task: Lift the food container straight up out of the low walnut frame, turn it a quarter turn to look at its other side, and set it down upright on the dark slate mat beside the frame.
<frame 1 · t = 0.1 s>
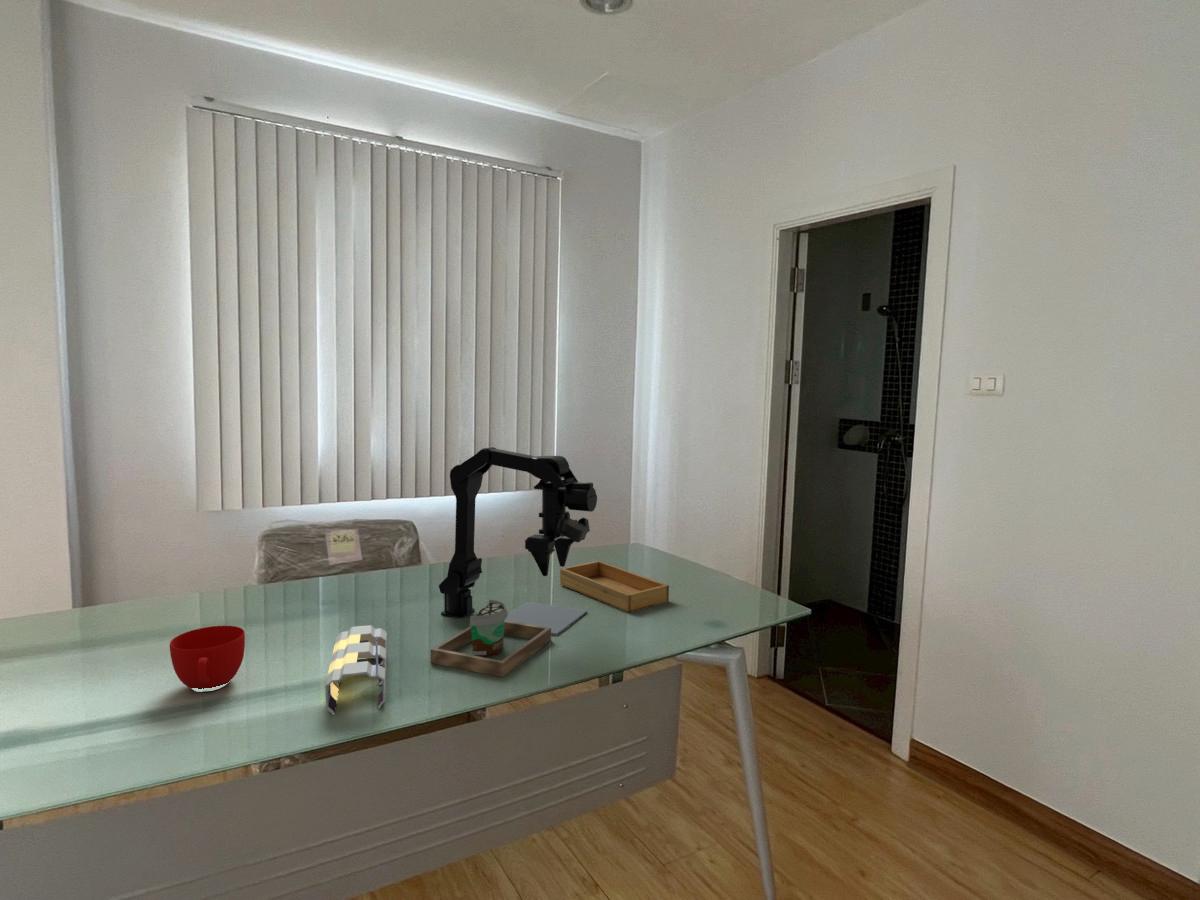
hand: (553, 571, 167), 15 cm above the table, tool pointing down, fingers open, 9 cm apart
tray: (612, 595, 197), on the table
slate mat: (541, 618, 175), on the table
jagged striped arch: (359, 685, 138), on the table
walnut frame: (493, 651, 154), on the table
food container: (493, 652, 154), resting in walnut frame
ceramic cup: (209, 690, 134), on the table
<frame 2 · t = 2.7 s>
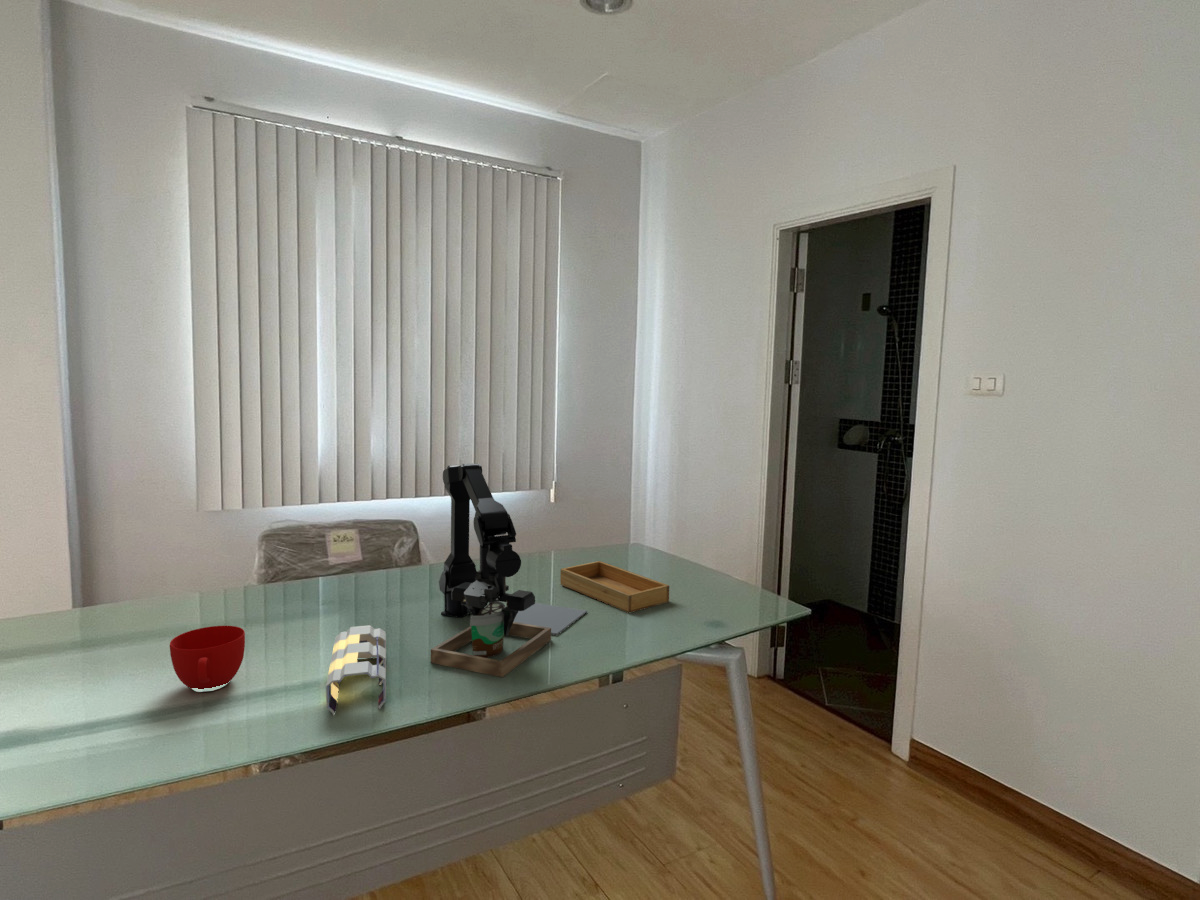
hand: (493, 632, 154), 4 cm above the table, tool pointing down, fingers closed on food container, 6 cm apart
food container: (493, 652, 154), resting in walnut frame, touching gripper
everything else where it was.
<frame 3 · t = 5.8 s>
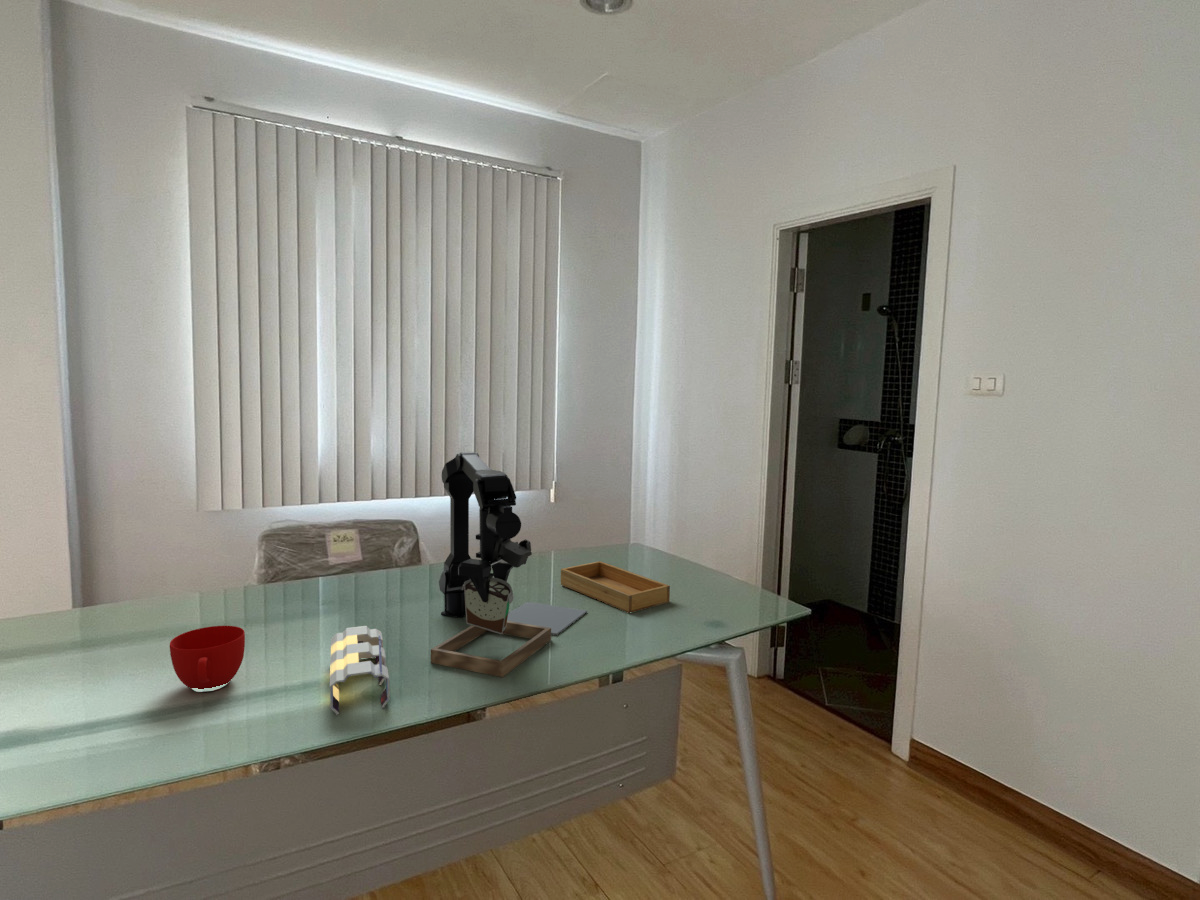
hand: (493, 597, 153), 12 cm above the table, tool pointing down, fingers closed on food container, 6 cm apart
food container: (491, 623, 155), point 6 cm above the table, touching gripper
everything else where it was.
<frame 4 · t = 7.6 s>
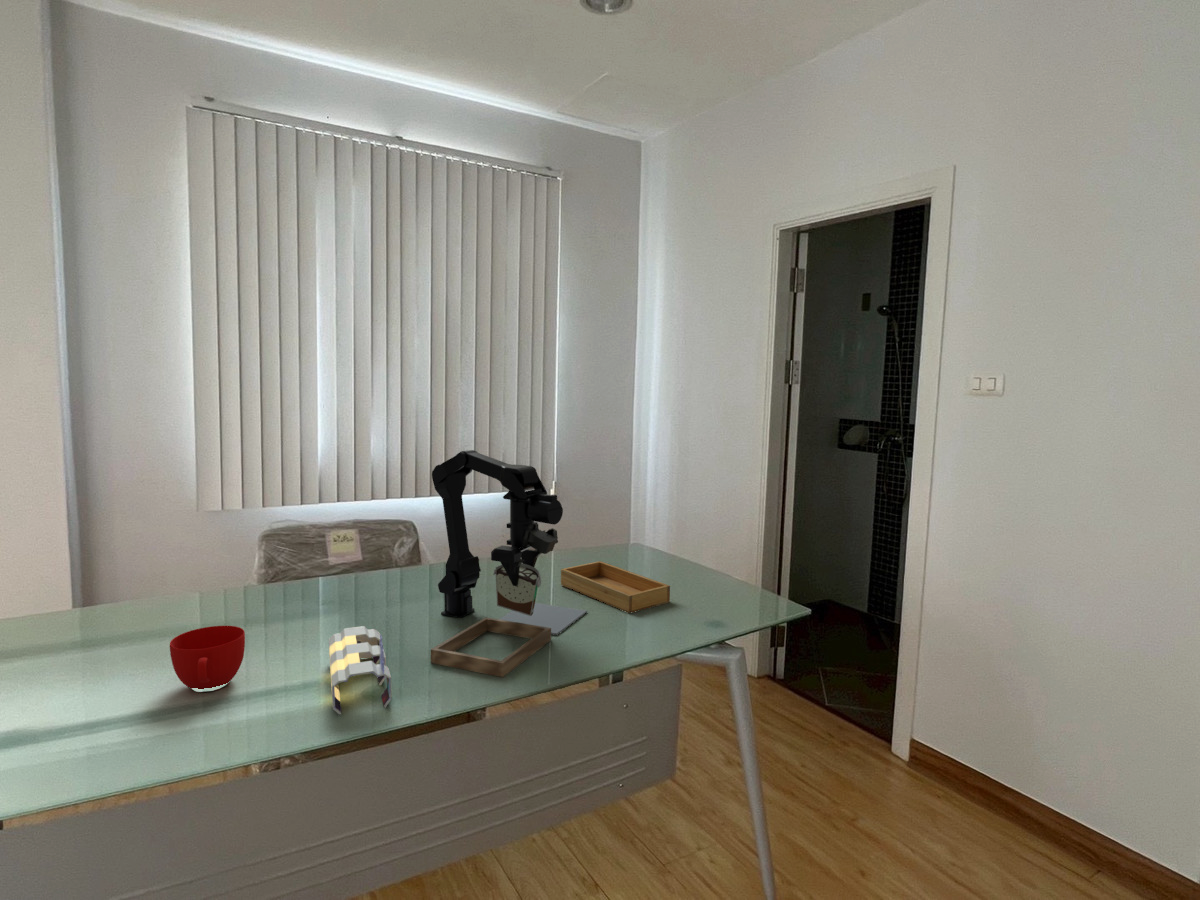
hand: (522, 582, 165), 12 cm above the table, tool pointing down, fingers closed on food container, 6 cm apart
food container: (520, 606, 167), point 6 cm above the table, touching gripper
everything else where it was.
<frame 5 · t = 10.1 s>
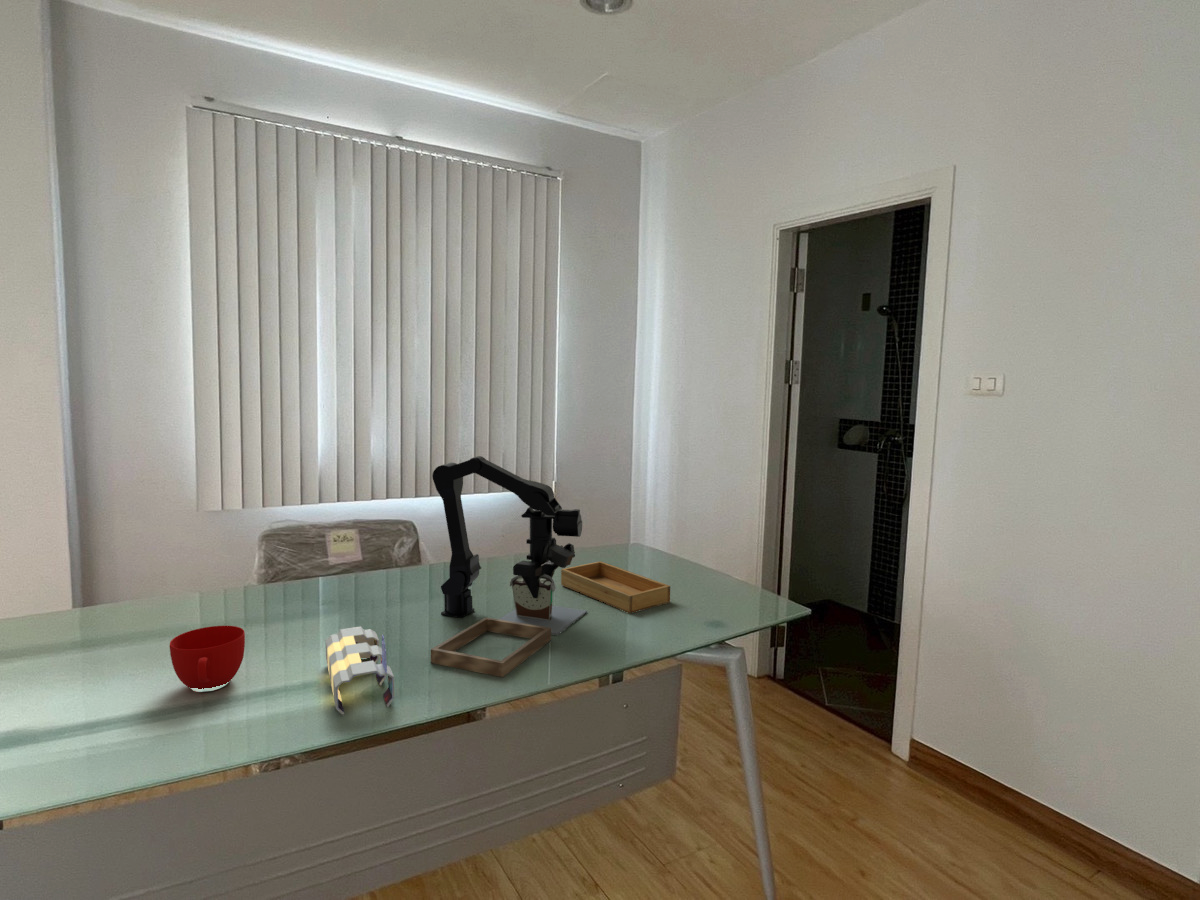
hand: (541, 594, 175), 6 cm above the table, tool pointing down, fingers closed on food container, 6 cm apart
food container: (538, 613, 177), point 1 cm above the table, touching gripper, slate mat
when the fingers open (6 cm above the table, at t = 10.9 s): food container stays where it is, resting on slate mat.
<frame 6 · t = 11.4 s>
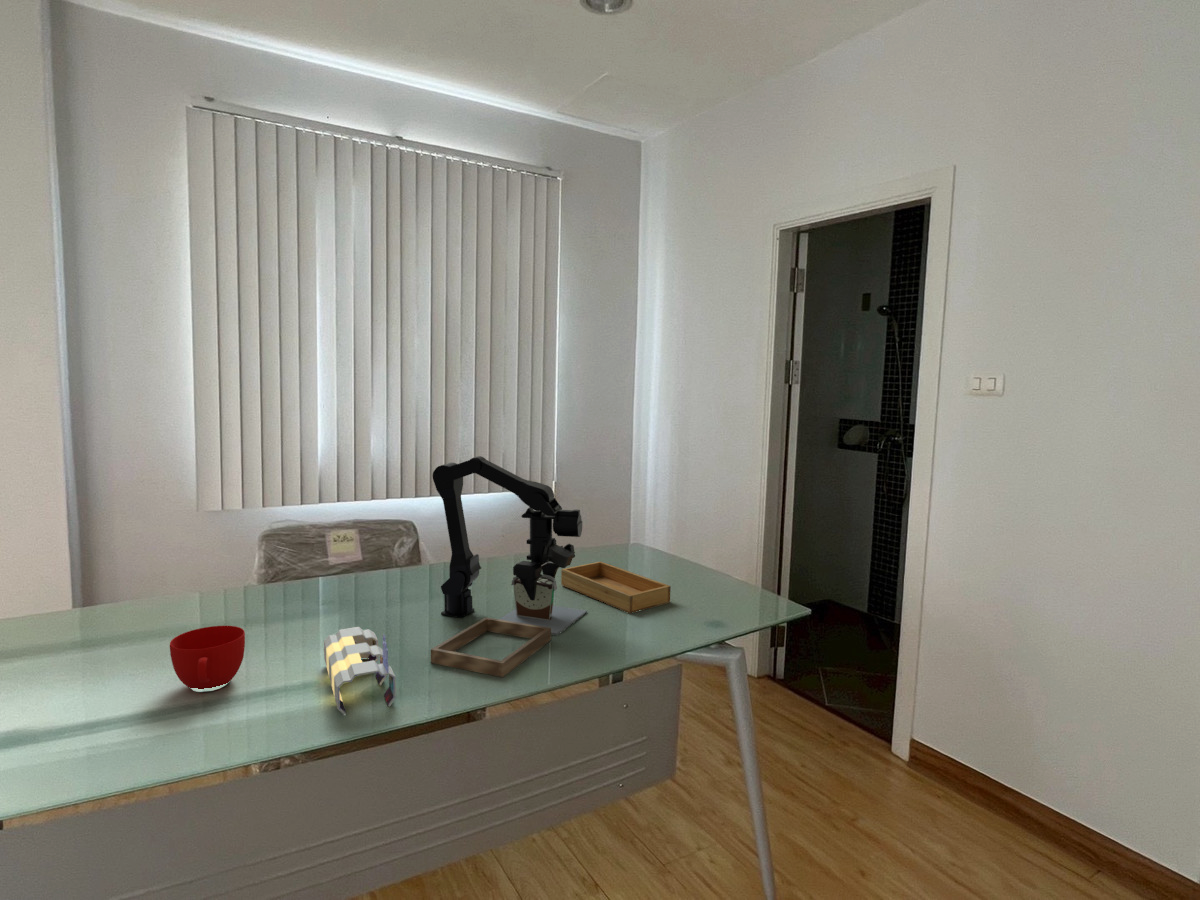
hand: (541, 594, 175), 6 cm above the table, tool pointing down, fingers open, 9 cm apart
food container: (538, 615, 177), resting on slate mat
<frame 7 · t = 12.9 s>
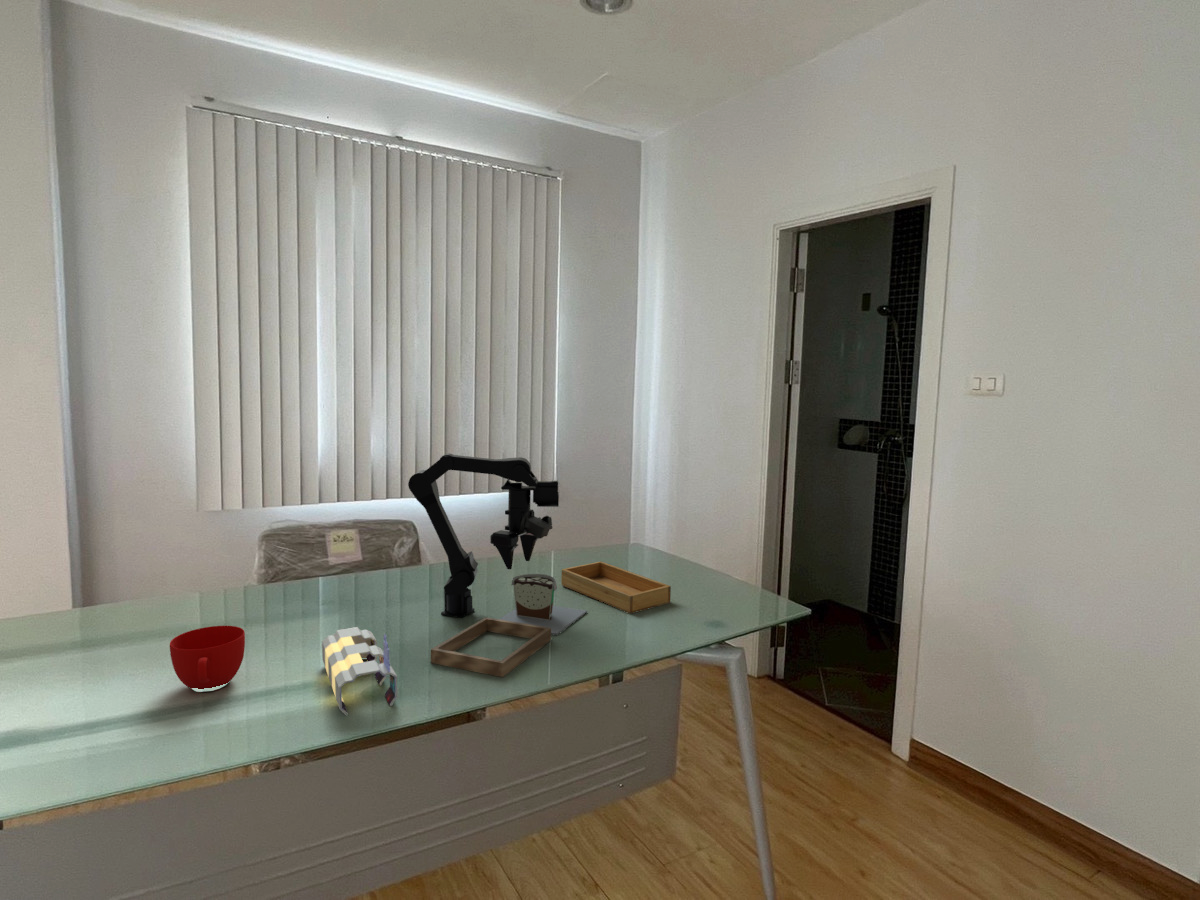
hand: (518, 564, 179), 13 cm above the table, tool pointing down, fingers open, 9 cm apart
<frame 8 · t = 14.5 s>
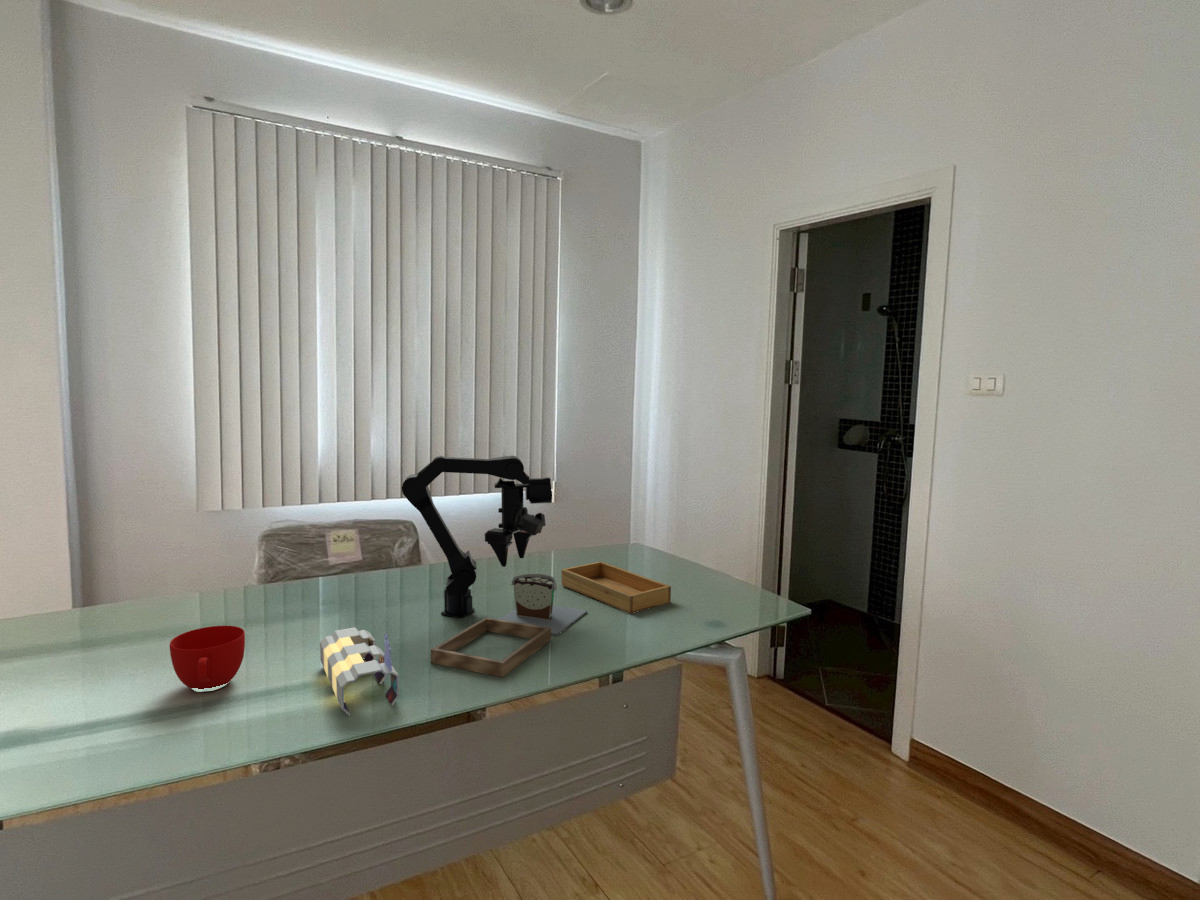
hand: (512, 562, 181), 13 cm above the table, tool pointing down, fingers open, 9 cm apart
at the end: food container inside the target area on the slate mat (1.7 cm from its centre), point 0.4 cm above the slate mat's base; food container tilted 0°; the gripper is holding nothing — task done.
